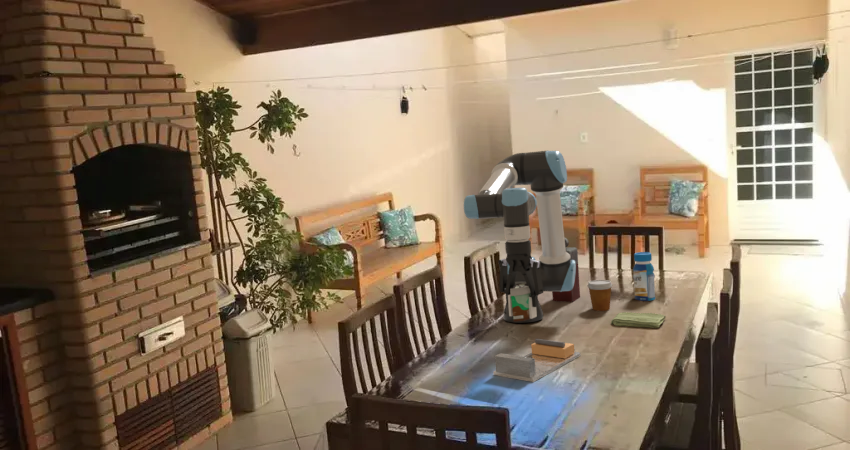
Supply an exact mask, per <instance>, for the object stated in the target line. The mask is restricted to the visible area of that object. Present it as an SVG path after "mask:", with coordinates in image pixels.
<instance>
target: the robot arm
mask: <svg viewBox="0 0 850 450" xmlns="http://www.w3.org/2000/svg"><path fill="white" fill-rule="evenodd" d="M566 165H567V164H566V161H565V158H564V156H563V153H561V152H560V151H558V150H541V151H540V150H539V151H538V150H537V151H530V152H528V151H527V152H518V153H515V154H511V155H509V156H507V157H505V158H503V159H502V160H501V161H499V162H498V163H497V164H496V165H495V166H493V168H492V170H491V173H490V174H491V175H490V177H488V179H487V181H486V183H484V185H482V188H481V189H480V190H479V192H478V193H477V194H470V195H466V196H465V197H464V200H463V212H464V215H465V217H466V218H467V219H471V220H473V219H476V220H480V219H494V218H495V219H499V218H500V219H501V218H503V226H504V227H503V229H504V231H503V232H504V239H505V240H506V241H505V243H504V246H505V254H506V256H505V258H502V259H498V260H497V261H498V266H499V291H500V293H504V294H505V300H506V301H505V305H504V306H505V307H504V311H503V320H504V321H506V322H509V323H515V324H516V323H517V324H518V323H519V324H522V323H525V324H527V323H533V322H534V323H535V322H538V321H540V320H541V321H542V319H544V311H543V309H542V306H541V303H540V301H539V295H542V294H544V292H551V293H552V292H562V291H570V290H572V289H573V286H574V281H575V273H576V262H575V260H571V257H570V254H569V253H567V252H566V249H565V239H564V238H565V232H564V222H563V212H562V202H561V190H562V189H563V188H564V184H565V183H566V182H567V181H568V171H567V166H566ZM528 185H529V186H530V191H531V192H530V191H528V189H527V188H525V187H515V186H528ZM533 193H534V194H535V195H534V194H533ZM536 208H537V216H538V225H539V235H540V242H541V253H542V254H541V255H540V256H539V258H538V259H539V260H536V258H535V257H534V256H532V243H531V240H530V239H531V228H530V216H531V215H532V214H534V212H535V211H536ZM515 282H526V284H527V286H528V287H529V288H530V292H531V293H530V297H529V314H530V319H528V320H524V321H517V322H514V320H513V311H512V302H511V296H510V289H513V287H514V286H515Z"/></svg>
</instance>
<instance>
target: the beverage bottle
mask: <svg viewBox="0 0 850 450" xmlns="http://www.w3.org/2000/svg"><path fill="white" fill-rule="evenodd" d="M652 256H653V255H652V253H651V252H649V251H640V252H635V253H634V254H633V258H634V263H635V264H634V266H633V268H632V271H633V274H632V279H633V287H634V288H633V289H634V300H637V301H640V302H641V301H643V302H649V301H654V300H656V294H655V293H656V292H655V291H656V290H655V278H656V277H655V273H654V271H655V268H654V265H653V264H652V260H653V257H652Z"/></svg>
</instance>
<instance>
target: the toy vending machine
mask: <svg viewBox="0 0 850 450" xmlns="http://www.w3.org/2000/svg"><path fill="white" fill-rule="evenodd" d="M564 239H565V249H566V252H567V253H569V254H570V257H571V260H575V262H576V273H575V281H574V286H573V289H572V290H570V291H562V292H551V295H552V302H564V303H565V302H567V303H574V302H575V301H577V300H579V299H580V298H581V292H580V291H581V290H580V286H581V285H580V273H579V272H580V271H579V254H578V248H577V247H568V246H569V244H570V242H569V239H568V238H567V237H564Z"/></svg>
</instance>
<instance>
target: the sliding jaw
mask: <svg viewBox="0 0 850 450" xmlns="http://www.w3.org/2000/svg"><path fill="white" fill-rule="evenodd" d="M530 346H531V353H532V354H538V355H545V356H552V357H558V358H567V357H569V356H571V355H572V354H574V352H575V344H574V343H569V342H565V341H557V340H556V341H555V340H548V339H544V338H543V339H540V338H535V340H534V343H531V344H530Z"/></svg>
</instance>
